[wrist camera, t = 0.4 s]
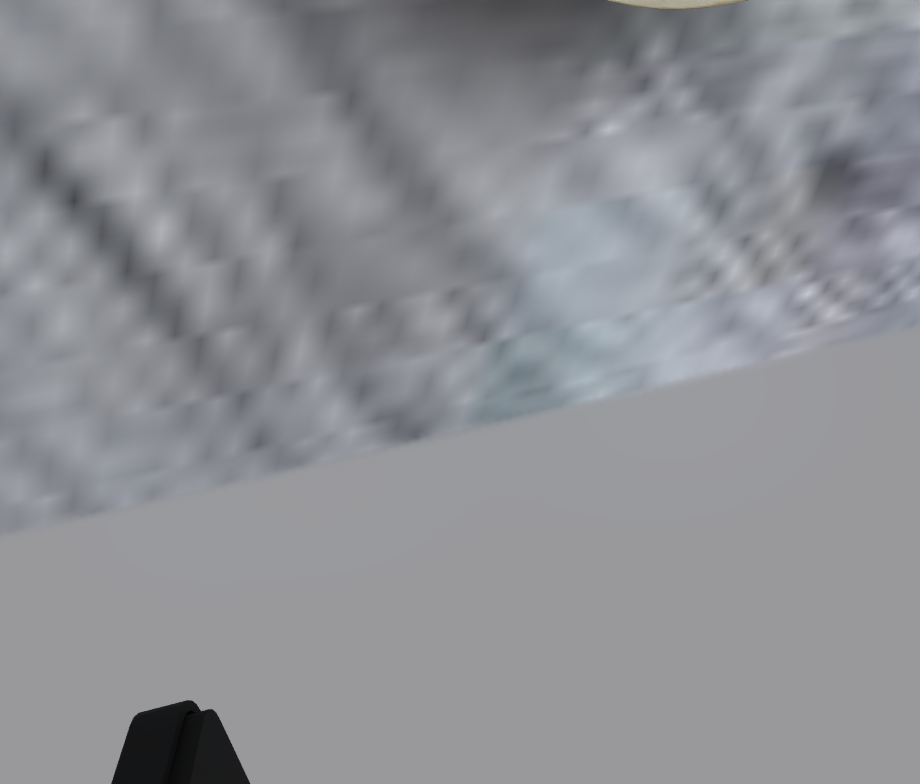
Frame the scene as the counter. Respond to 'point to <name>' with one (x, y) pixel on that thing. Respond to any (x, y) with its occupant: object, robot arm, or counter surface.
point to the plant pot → (676, 3)
